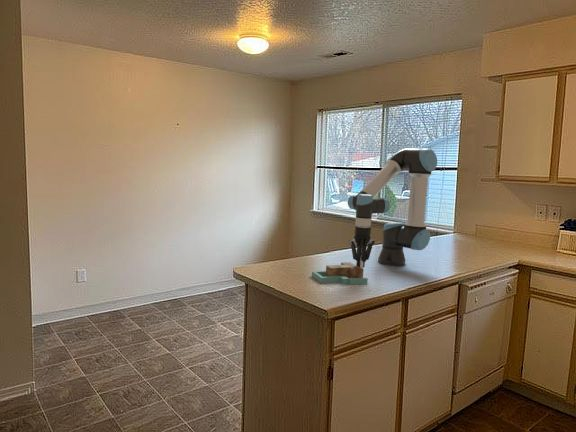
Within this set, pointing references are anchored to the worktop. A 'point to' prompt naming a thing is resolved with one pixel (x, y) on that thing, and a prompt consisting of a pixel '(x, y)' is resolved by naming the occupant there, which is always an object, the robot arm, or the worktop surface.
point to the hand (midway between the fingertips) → (359, 273)
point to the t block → (344, 270)
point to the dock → (337, 278)
